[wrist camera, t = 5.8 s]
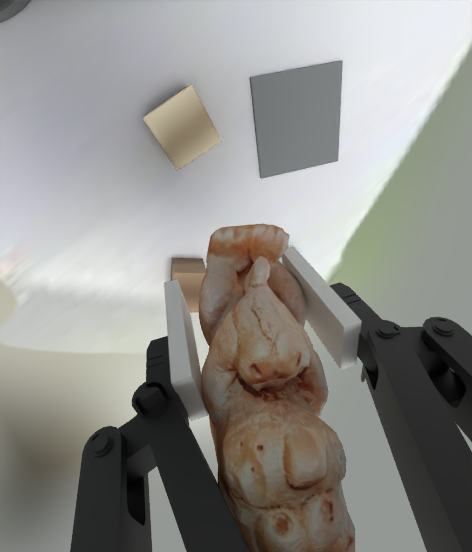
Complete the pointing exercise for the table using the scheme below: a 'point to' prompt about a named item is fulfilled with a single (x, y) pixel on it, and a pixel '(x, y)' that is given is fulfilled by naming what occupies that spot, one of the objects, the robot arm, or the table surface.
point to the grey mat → (297, 117)
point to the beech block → (183, 127)
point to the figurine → (269, 399)
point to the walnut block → (189, 279)
